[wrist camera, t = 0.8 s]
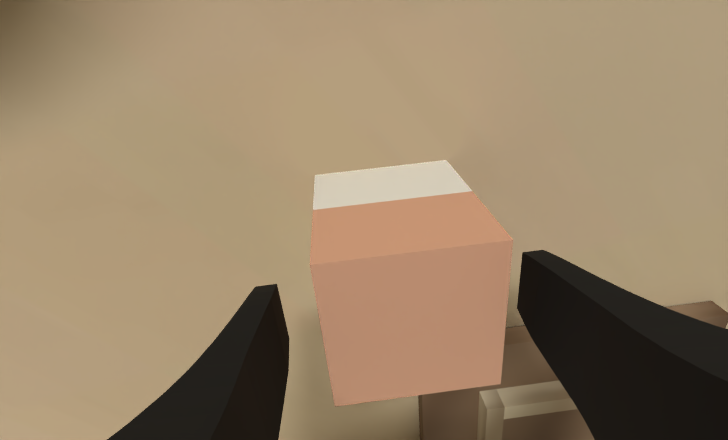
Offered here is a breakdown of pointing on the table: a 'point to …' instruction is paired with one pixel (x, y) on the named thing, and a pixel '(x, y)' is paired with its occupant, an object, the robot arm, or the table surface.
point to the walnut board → (521, 396)
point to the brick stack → (408, 282)
